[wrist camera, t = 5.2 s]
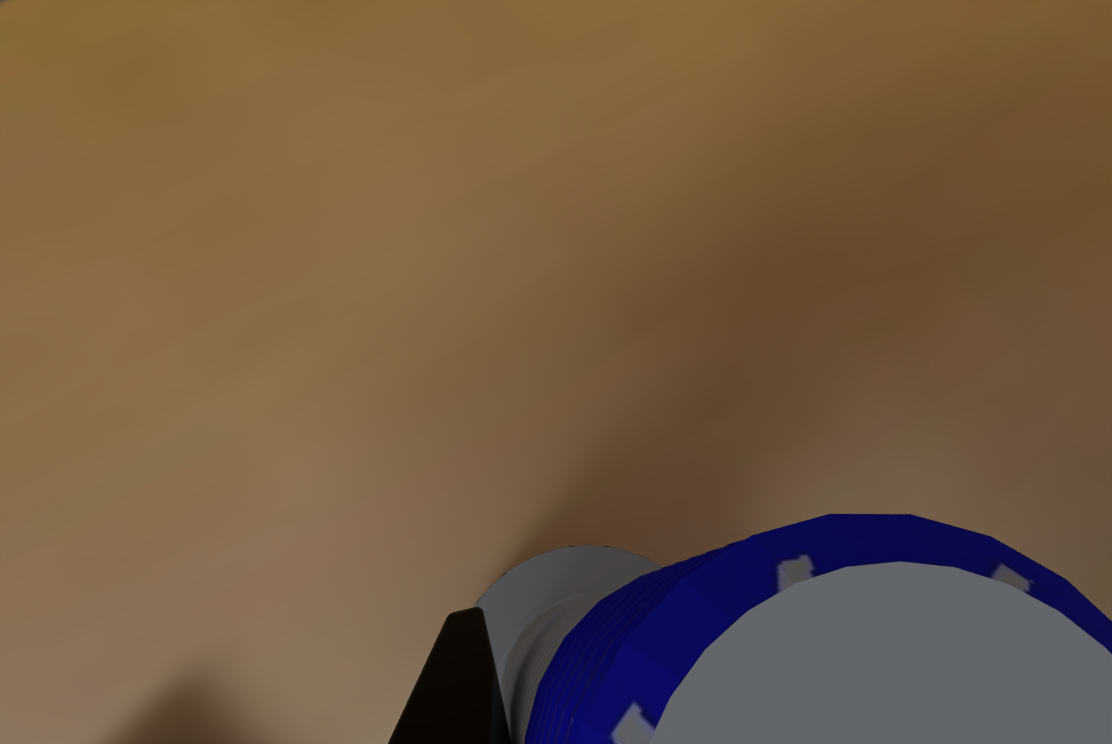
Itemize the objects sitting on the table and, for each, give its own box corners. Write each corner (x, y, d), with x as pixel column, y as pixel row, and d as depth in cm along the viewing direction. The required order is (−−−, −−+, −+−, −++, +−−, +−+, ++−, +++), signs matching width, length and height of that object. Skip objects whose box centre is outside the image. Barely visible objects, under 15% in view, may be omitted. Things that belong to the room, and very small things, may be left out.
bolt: (635, 522, 20) (733, 751, 19) (414, 614, 19) (505, 860, 18) (1110, 182, 5) (1748, 1233, 4) (167, 545, 4) (630, 2060, 3)
